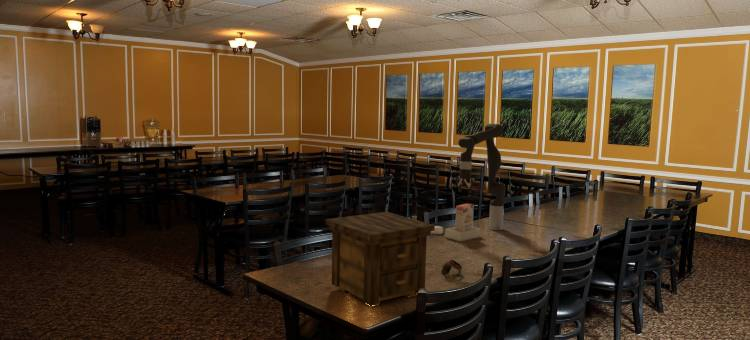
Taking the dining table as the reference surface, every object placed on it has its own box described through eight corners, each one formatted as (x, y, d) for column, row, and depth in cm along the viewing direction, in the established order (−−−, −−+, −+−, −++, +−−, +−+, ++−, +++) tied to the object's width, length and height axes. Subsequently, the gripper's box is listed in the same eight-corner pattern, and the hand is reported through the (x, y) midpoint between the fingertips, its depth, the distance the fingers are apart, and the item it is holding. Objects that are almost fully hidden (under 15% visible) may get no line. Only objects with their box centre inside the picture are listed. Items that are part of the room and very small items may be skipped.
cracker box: (462, 238, 338) (463, 207, 336) (454, 237, 342) (455, 205, 339) (472, 235, 349) (473, 204, 347) (464, 233, 353) (465, 203, 350)
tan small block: (436, 231, 363) (436, 225, 362) (445, 233, 356) (445, 227, 356) (428, 232, 358) (428, 226, 357) (436, 234, 351) (437, 229, 351)
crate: (385, 275, 263) (386, 211, 259) (432, 296, 235) (434, 225, 231) (324, 288, 242) (325, 219, 239) (368, 313, 214) (369, 235, 210)
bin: (445, 237, 344) (445, 228, 343) (466, 233, 357) (466, 225, 356) (459, 241, 334) (460, 232, 334) (480, 237, 347) (481, 228, 347)
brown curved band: (443, 270, 275) (452, 257, 274) (457, 281, 270) (466, 268, 269) (435, 270, 265) (443, 257, 263) (449, 282, 260) (458, 268, 259)
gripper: (478, 168, 337) (476, 193, 339) (461, 166, 348) (460, 190, 350) (470, 169, 332) (469, 194, 334) (453, 167, 343) (452, 191, 345)
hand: (464, 192), depth 342 cm, fingers open, 8 cm apart
